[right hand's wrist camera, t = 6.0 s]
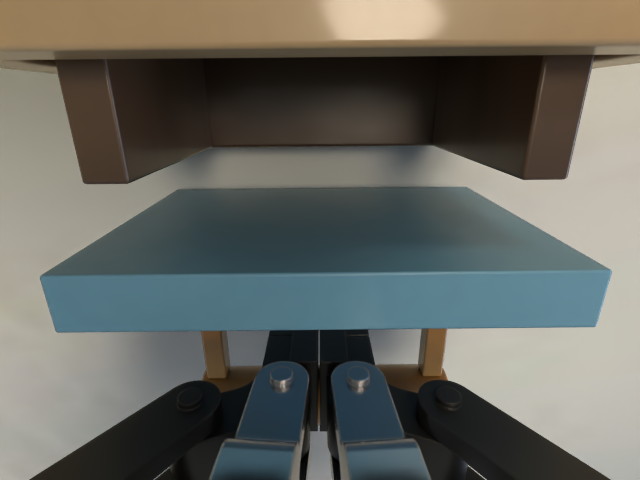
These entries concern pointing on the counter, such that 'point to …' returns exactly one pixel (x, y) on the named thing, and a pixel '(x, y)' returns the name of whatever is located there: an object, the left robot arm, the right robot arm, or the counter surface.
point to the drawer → (325, 202)
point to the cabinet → (314, 29)
